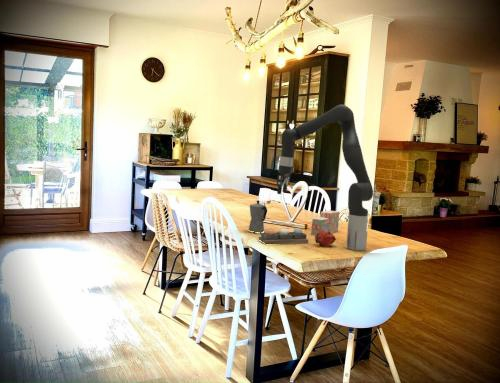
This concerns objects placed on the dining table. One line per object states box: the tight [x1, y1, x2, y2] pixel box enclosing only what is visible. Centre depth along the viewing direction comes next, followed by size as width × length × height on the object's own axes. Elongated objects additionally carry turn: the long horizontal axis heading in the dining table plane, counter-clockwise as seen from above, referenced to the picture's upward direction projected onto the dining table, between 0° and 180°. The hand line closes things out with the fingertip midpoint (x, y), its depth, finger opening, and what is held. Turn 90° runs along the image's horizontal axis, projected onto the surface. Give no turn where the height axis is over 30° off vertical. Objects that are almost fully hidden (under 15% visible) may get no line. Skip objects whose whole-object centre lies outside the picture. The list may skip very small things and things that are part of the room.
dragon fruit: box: [314, 231, 337, 247], centre depth 236 cm, size 8×8×12 cm
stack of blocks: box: [310, 210, 340, 236], centre depth 270 cm, size 21×6×12 cm, turn 142°
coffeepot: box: [248, 199, 268, 232], centre depth 260 cm, size 15×9×18 cm, turn 33°
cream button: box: [279, 228, 289, 235], centre depth 239 cm, size 4×4×3 cm
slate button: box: [292, 227, 303, 234], centre depth 242 cm, size 4×4×3 cm
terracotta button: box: [264, 228, 275, 235], centre depth 236 cm, size 4×4×3 cm
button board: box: [258, 231, 309, 245], centre depth 239 cm, size 10×24×4 cm, turn 111°
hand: (281, 193), depth 262 cm, fingers open, 8 cm apart
